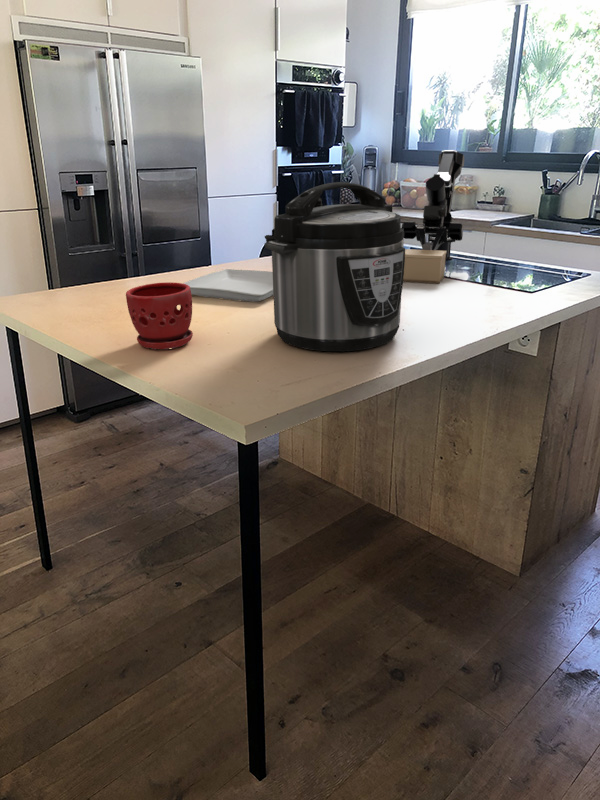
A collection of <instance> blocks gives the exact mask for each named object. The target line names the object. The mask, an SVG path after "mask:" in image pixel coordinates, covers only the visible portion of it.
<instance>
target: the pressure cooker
mask: <svg viewBox="0 0 600 800" xmlns="http://www.w3.org/2000/svg"><path fill="white" fill-rule="evenodd" d="M340 188H341V189H349V190H350V191H351V193H352V194H353V195H354V197H355V198H356V199H357V200H358V202H359V203H358V204H357V203H356V204H355V203H354V204H350V203H349V204H348V203H345V204H344V203H343V204H327V205H323V203H322V201H323V200H324V199H323V198H322V197H321V196H322V194H323V192H325V191H329V190H337V189H340ZM401 219H402V218H401V215H400V214H399V213H396V212H393V206H392V205H391V204H386V198H385V197H383V196H382V195H381V194H379V193H378V192H377V191H375V190H373V189H371V188H369V187H367V186H365V185H362V184H358V183H354V182H349V181H348V182H347V181H346V182H345V181H336V182H328V183H324V184H321V185H318V186H317V185H316V186H314V187H312V188H309V189H307V190H305V191H304V192H302V193H300V194H299V195H298V196H296V197H294V198H293V199H292V200H291V201H289V202H288V203H287V204H286V205H285V213H283V214H277V215H275V217H274V219H273V223H274V226H273V229H271V234H266V235H264V239H265V241H264V244H263V245H264V248H265V249H267V250H269V251H271V268H272V271H271V272H273V295H272V296H273V315H274V319H273V321H274V326H275V329H276V332H277V335H278V336H279V338H280V339H281V340H282V341H283V342H285V343H286V344H288V345H290V346H292V347H296V348H301V349H307V350H311V351H322V352H323V351H324V352H350V351H351V352H353V351H362V350H367V349H372V348H375V347H376V348H377V347H380V346H383V345H385V344H387V343H389V342H390V341H392V340H393V339H394V338H395V336H396V335H397V333H398V332H399V331H398V330H399V328H400V324H401V308H402V306H401V305H402V293H403V286H404V285H403V283H404V282H403V277H404V265H405V249H406V248H405V247H404V243H405V241H404V240H405V238H404V229H402V224H401V222H402V221H401Z"/></svg>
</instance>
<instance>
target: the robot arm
mask: <svg viewBox="0 0 600 800" xmlns="http://www.w3.org/2000/svg"><path fill="white" fill-rule="evenodd" d="M437 165H438V170H437V173H434V174H433V176H431V177H430V178H428V179H427V180H426V181H425V193H426V199H427V201H428V203H427V205H425V206H424V207H423V214H422V215H423V216H422V217H423V218H422V219H423V220H422V224H416V221H403V223H402V224H401V228H402V229H404V240H413V239H415V240H416V241H417V242H420V245H421V248H422V247H423V244H425V243H426V242H434V244H433V247H432V250H441V251H447V253H446V258H445V261H447V260H450V261H451V260H453V259H454V258H453V257H451V249H452V247H451V246H452V243H456V241H459V242H460V241H462V240H463V235H464V227H463V224H462V222H454V221H453V217H452V214H451V211H452V210H451V209H452V202H453V196H454V191H455V183H456V179H457V178H458V177H459V176H460V175H461V174H462V168H464V166H465V154H464V153H460V152H458V151H457V150H455V149H444V150H441V153H439V154H438V164H437ZM427 235H428V238H427ZM427 239H428V241H427Z"/></svg>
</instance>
